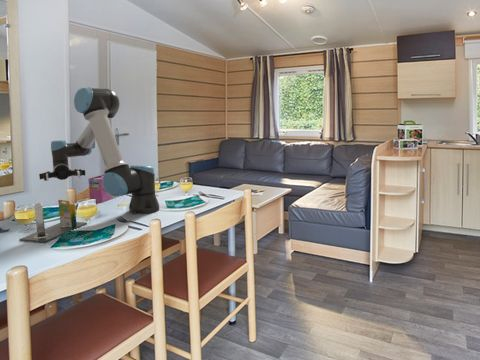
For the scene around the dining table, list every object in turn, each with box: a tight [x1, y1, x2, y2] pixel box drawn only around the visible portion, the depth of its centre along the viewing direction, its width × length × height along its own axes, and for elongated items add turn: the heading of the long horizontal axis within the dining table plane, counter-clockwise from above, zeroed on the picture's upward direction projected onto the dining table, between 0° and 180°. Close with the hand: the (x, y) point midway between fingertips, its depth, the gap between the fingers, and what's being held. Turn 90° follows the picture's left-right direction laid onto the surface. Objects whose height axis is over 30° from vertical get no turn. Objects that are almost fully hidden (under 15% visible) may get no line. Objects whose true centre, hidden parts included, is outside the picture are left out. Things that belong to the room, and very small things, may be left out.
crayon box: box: [58, 199, 77, 227], centre depth 169 cm, size 7×3×12 cm, turn 61°
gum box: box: [88, 173, 119, 204], centre depth 229 cm, size 24×8×14 cm, turn 165°
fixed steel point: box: [34, 202, 46, 237], centre depth 155 cm, size 3×3×13 cm
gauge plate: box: [18, 221, 88, 244], centre depth 164 cm, size 12×26×1 cm, turn 166°
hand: (63, 176), depth 181 cm, fingers open, 13 cm apart
